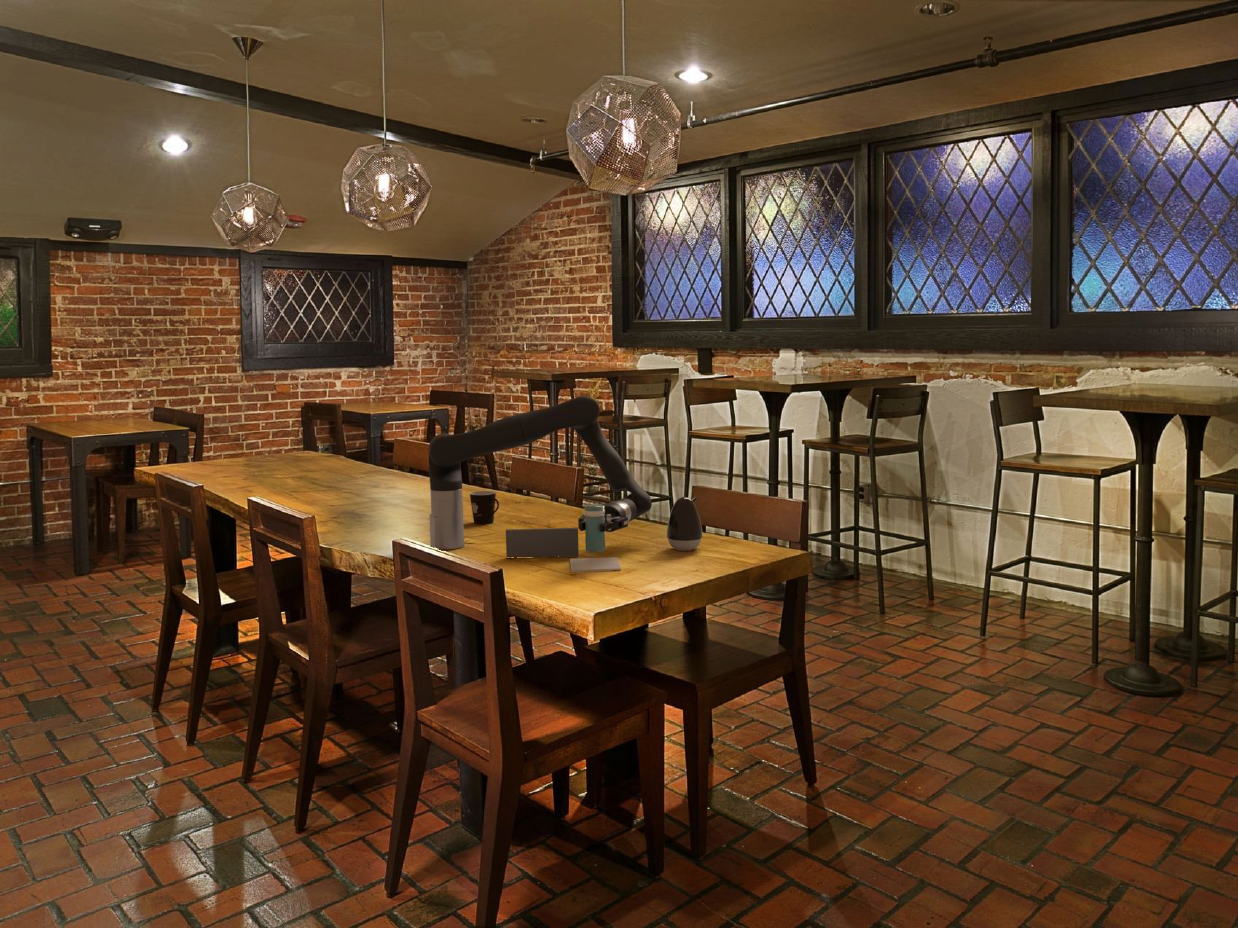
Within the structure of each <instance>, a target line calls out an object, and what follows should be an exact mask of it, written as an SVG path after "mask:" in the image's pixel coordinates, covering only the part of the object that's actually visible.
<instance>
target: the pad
mask: <svg viewBox="0 0 1238 928" xmlns="http://www.w3.org/2000/svg"><path fill="white" fill-rule="evenodd" d="M569 562H570V571H571V573H585V572H584V571H593V572H611V571H610V570H621V571H622V568H621V563H620V560H619V558H618V557H587V558H583V557H582V558H570V559H569Z"/></svg>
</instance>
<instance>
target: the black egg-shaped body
mask: <svg viewBox="0 0 1238 928" xmlns="http://www.w3.org/2000/svg"><path fill="white" fill-rule="evenodd" d="M697 500H698V499H697V498H696V496H695V497H692V498H690V497H688V496H681V497H679V498H678V499H676V501H675V502H674V504H673V506H672V508H671V510H670V515H669V517H668V522H667V526H666V527H667V529H666V538H667V539H668V543H669V545H670V546H671V547H672V548H673V549H674V550H676V551H679V552H689V551H693V550H695V549H697V548H698V547H699V546H700V544H701V541H702V538H703V528H702V523H701V517H700V514H699V511H698V509H697V506H696V504H695V503H696V501H697Z"/></svg>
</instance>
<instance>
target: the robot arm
mask: <svg viewBox="0 0 1238 928" xmlns="http://www.w3.org/2000/svg"><path fill="white" fill-rule="evenodd" d="M600 408H601V407H600V404H599V402H598V401H597V400H596V399H595V398H593V397H592V396H588V395H581V396H576V397H574V398H571V399H569V400H566V401H564V402H561V403H559V404H555V405H553V406H549V407H544V408H540V409H534V410H530V411H526V412H522V413H517V414H513V415H511V416H506V417H504V418H501V419H497V420H495V421H492V422H490V423H488V424H486V425H484V426H482V427H479V428H478V429H474V430H471V431H467V432H462V433H457V434H456V433H455V434H451V433H445V432H444V433H443V432H442V433H438V434H436V435H435V436H433V437H432V438H431V440H430V441H429V445H428V453H427V454H428V471H429V473H428V476H429V487H430V492H429V493H430V509H431V510H430V514H429V531H430V532H429V536H430V539H429V540H430V547H432V546H433V547H436V548H439V549H438V550H454V549H460V548H463V547H465V531H464V530H465V528H464V526H465V525H464V500H463V497H464V496H463V478H462V466H461V465H462V462H464V461H467V460H470V459H472V458H475V457H478V456H481V455H485V454H491V453H497V452H502V451H506V450H510V449H514V448H519V447H522V446H526V445H529V444H532V443H533V442H536V441H539V440H540V439H543V438H545V437H546V436H548V435H550V434H552V433H555V432H557V431H560V430H564V429H568V428H573V429H574V431H575V432H576V433H577V435H578V436H579V437H580V438H581V440H582V441H583V443H584V444H585V445H586V447H587V448H588V450H589V452H591V455H592V456H593V458H594V459H595V462H596V463H597V466H598V468H599V470H600V471H601V473H602V474H603V476H604V478H605V480H606V482H607V484H608V485H609V488H610V489H611V490H612V492H615V493H616V492H620V491H622V490H627V491H629V492H630V493H629V494H628V495H626V496H625V497H622V498H621V499H617V500H615V501H612V502H609V503H607V504H605V505H604V509H605V515H604V517H605V522H603V523H601V524H600V532H605V533H606V532H607V533H613V532H615V531H619V530H622V529H625V528H627V527H629V523H630V522H633V521H634V520H635V519H637V518H639V517H640V516H642V515H644V514H646V513H647V512H649V511H650V510H651V509H652V506H653V501H652V498H651V497H650V495H649V494H648V492H646V490H645V489H643V488H642V486H640V484H638V482H637V481H636V480H635V479H634V477H633V476H632V475H631V473H630V471H629V469H628V468H627V466H626V464H625V462H624V460H623V459H622V458H621V456H620V455H619V453H618V452H617V451H616V450H615V449H614V447H613V446H612V445H611V443H610V442H609V440H608V438H607V437H606V436H605V434H604V431H603V430H602V428H601V426H600V423H599V420H598V419H599V416H600V413H601V412H600V411H601V409H600ZM577 521H578V523H577V525H578V527H577V528H578V530H579V531H580V532H584V531H585V514H582V515H580V517H579V518H578V520H577ZM433 547H432V548H433Z"/></svg>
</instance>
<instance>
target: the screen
mask: <svg viewBox="0 0 1238 928" xmlns="http://www.w3.org/2000/svg"><path fill="white" fill-rule="evenodd" d="M505 547H506V548H505V551H506V552H505V555H506V556H505V557H510V558H511V557H514V558H517V557H554V558H568V557H567V556H579V555H580V554H579V549H580V548H579V527H553V528H552V527H551V528H549V527H548V528H546V527H545V528H516V529H515V528H514V529H511V528H510V529H507V528H506V529H505ZM558 556H559V557H558Z"/></svg>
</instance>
